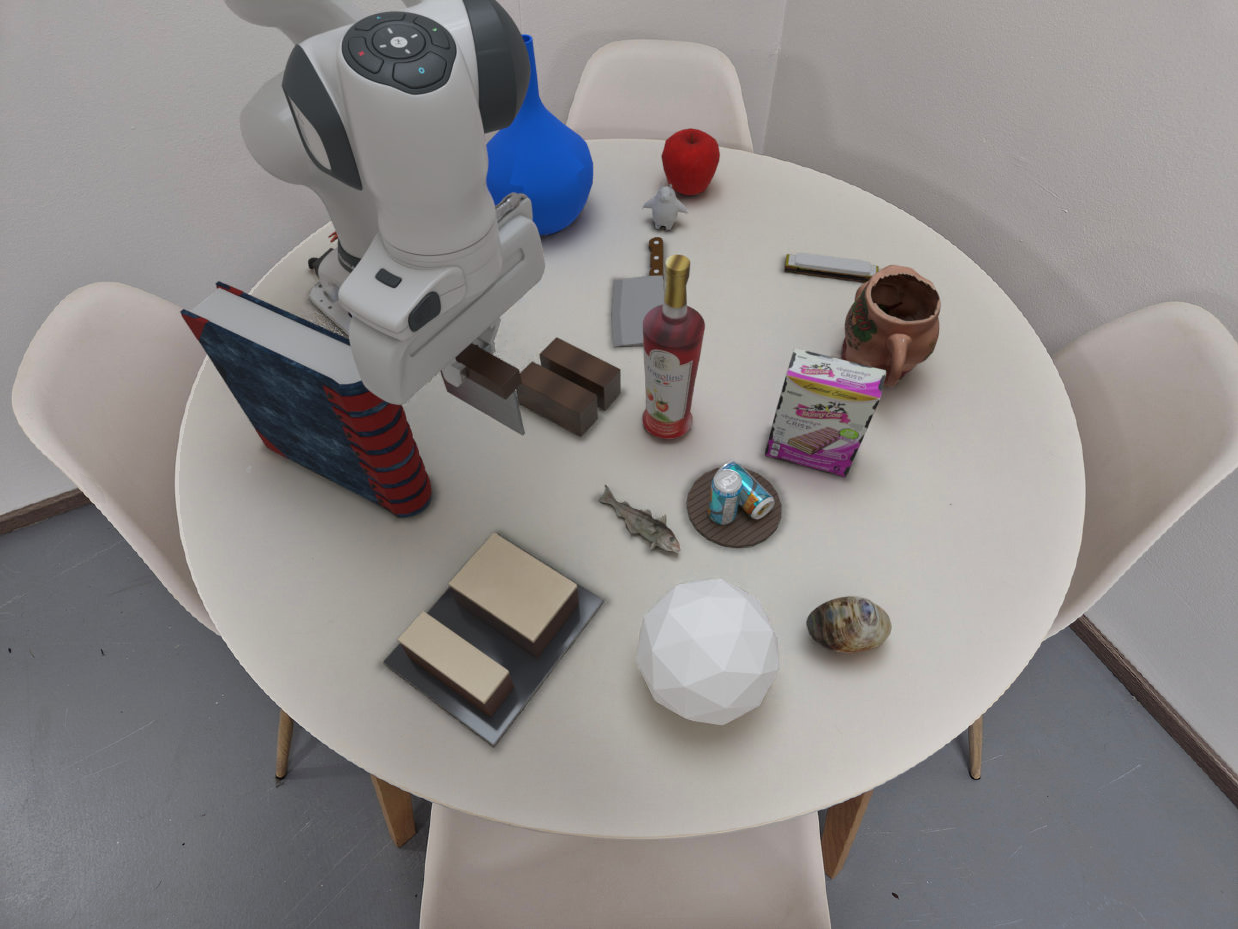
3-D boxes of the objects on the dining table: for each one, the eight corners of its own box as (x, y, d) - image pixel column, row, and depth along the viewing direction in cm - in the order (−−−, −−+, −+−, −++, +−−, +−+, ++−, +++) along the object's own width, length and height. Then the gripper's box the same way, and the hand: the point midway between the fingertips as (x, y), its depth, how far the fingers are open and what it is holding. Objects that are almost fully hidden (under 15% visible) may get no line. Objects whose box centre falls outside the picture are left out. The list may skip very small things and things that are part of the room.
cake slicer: (440, 398, 78) (419, 339, 71) (455, 382, 79) (436, 323, 72) (516, 443, 75) (502, 386, 68) (531, 426, 76) (519, 369, 69)
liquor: (632, 437, 104) (634, 276, 81) (650, 398, 108) (656, 234, 85) (684, 452, 102) (701, 292, 79) (700, 412, 106) (720, 249, 83)
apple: (656, 203, 134) (659, 146, 125) (664, 171, 139) (666, 114, 130) (713, 209, 133) (719, 152, 124) (718, 176, 138) (724, 119, 129)
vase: (505, 263, 125) (476, 83, 100) (476, 199, 135) (443, 21, 110) (610, 236, 128) (607, 56, 104) (574, 176, 138) (563, -1, 114)
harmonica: (783, 272, 123) (786, 262, 121) (785, 259, 125) (787, 249, 123) (876, 284, 121) (879, 274, 119) (876, 271, 123) (880, 261, 121)
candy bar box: (763, 458, 102) (783, 374, 88) (771, 430, 104) (792, 345, 91) (847, 480, 99) (881, 398, 86) (853, 451, 102) (887, 367, 89)
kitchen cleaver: (614, 237, 127) (675, 235, 126) (615, 242, 128) (675, 240, 127) (609, 344, 113) (677, 343, 112) (610, 349, 114) (677, 347, 113)
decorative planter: (928, 427, 104) (965, 356, 93) (838, 422, 105) (864, 351, 94) (907, 323, 116) (938, 249, 105) (826, 320, 117) (848, 245, 105)
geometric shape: (709, 659, 91) (779, 568, 84) (745, 769, 78) (830, 672, 72) (603, 630, 86) (669, 531, 79) (624, 743, 73) (704, 637, 67)
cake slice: (408, 656, 85) (397, 639, 81) (432, 629, 87) (423, 610, 83) (490, 717, 81) (483, 702, 77) (514, 687, 83) (508, 670, 79)
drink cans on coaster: (667, 498, 98) (670, 461, 92) (738, 453, 102) (746, 415, 96) (728, 565, 92) (736, 531, 86) (801, 515, 96) (813, 479, 90)
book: (444, 488, 99) (398, 354, 79) (411, 528, 96) (354, 399, 75) (298, 416, 106) (221, 276, 86) (262, 451, 103) (173, 314, 83)
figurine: (638, 229, 130) (639, 189, 123) (645, 208, 133) (646, 168, 126) (685, 235, 128) (688, 195, 122) (690, 214, 132) (694, 173, 125)
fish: (675, 567, 93) (697, 533, 93) (664, 565, 90) (687, 529, 90) (596, 508, 100) (617, 476, 99) (583, 504, 96) (604, 471, 96)
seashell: (877, 613, 89) (897, 582, 82) (888, 661, 85) (910, 632, 79) (795, 616, 88) (809, 584, 82) (803, 663, 85) (818, 635, 79)
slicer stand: (518, 402, 107) (513, 378, 103) (559, 361, 112) (556, 336, 108) (581, 437, 104) (579, 414, 100) (620, 393, 108) (620, 369, 104)
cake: (384, 664, 85) (370, 644, 81) (498, 535, 95) (491, 511, 90) (494, 746, 80) (486, 731, 76) (603, 601, 90) (602, 580, 85)
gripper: (498, 169, 66) (514, 290, 77) (319, 305, 56) (368, 421, 68) (556, 195, 64) (564, 316, 75) (381, 341, 54) (421, 454, 66)
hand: (470, 366), depth 71 cm, fingers closed on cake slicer, 2 cm apart
